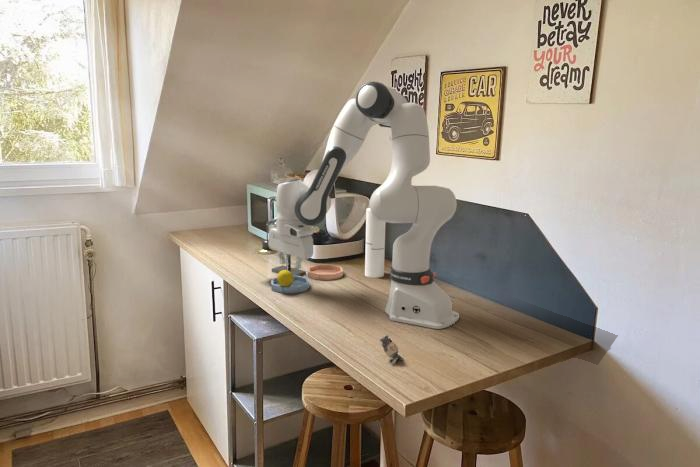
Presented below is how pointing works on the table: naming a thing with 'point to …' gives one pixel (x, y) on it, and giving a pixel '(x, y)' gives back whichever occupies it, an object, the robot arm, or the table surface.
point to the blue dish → (298, 285)
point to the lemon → (285, 278)
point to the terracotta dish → (325, 272)
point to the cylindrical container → (374, 246)
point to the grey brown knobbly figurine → (390, 349)
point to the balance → (267, 251)
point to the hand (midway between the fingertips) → (290, 266)
